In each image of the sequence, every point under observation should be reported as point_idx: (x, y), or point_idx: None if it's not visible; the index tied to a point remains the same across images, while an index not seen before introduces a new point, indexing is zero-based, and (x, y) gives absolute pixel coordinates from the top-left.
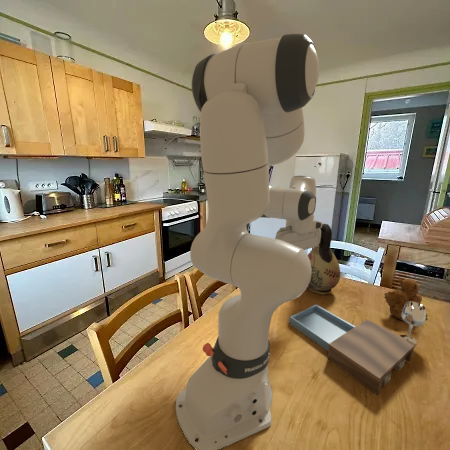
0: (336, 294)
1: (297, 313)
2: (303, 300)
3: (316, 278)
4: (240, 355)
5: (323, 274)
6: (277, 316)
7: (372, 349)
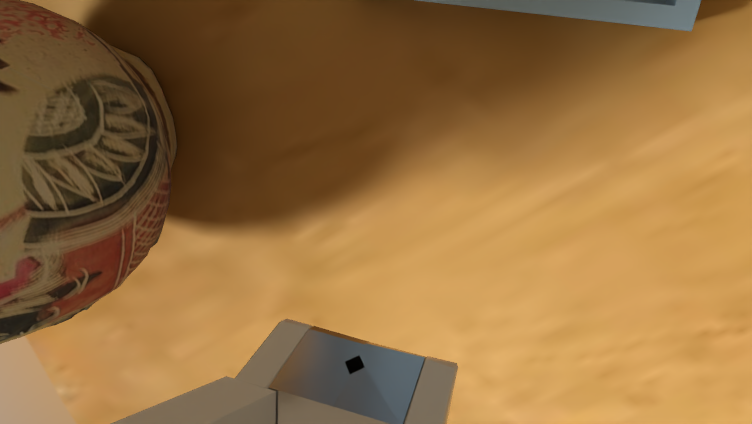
0: (66, 3)
1: (587, 15)
2: (317, 124)
3: (110, 131)
4: None
5: (27, 90)
6: (655, 142)
7: None
